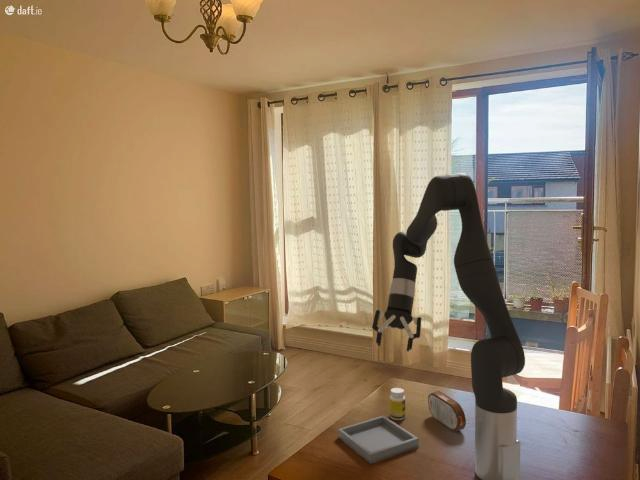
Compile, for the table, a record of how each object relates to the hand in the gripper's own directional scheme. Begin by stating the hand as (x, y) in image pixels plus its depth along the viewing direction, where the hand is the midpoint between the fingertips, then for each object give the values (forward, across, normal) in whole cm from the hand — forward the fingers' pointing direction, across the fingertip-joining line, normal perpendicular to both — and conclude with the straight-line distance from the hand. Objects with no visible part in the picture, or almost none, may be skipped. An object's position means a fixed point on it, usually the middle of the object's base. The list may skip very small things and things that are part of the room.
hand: (393, 348), depth 140 cm
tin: (+18, +18, +8) cm, 27 cm away
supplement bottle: (+19, +4, +11) cm, 22 cm away
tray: (+26, 0, -4) cm, 26 cm away
